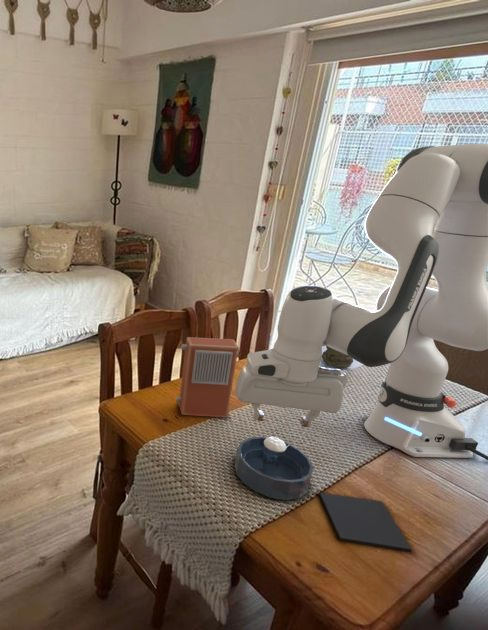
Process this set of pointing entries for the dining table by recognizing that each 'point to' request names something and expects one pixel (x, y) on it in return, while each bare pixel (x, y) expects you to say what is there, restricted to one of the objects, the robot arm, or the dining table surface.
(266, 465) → the milkshake
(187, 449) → the dining table surface
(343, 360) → the brown poop pile
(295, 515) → the dining table surface
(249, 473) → the dish
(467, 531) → the dining table surface
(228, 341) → the pink box with grille
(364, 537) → the mat
